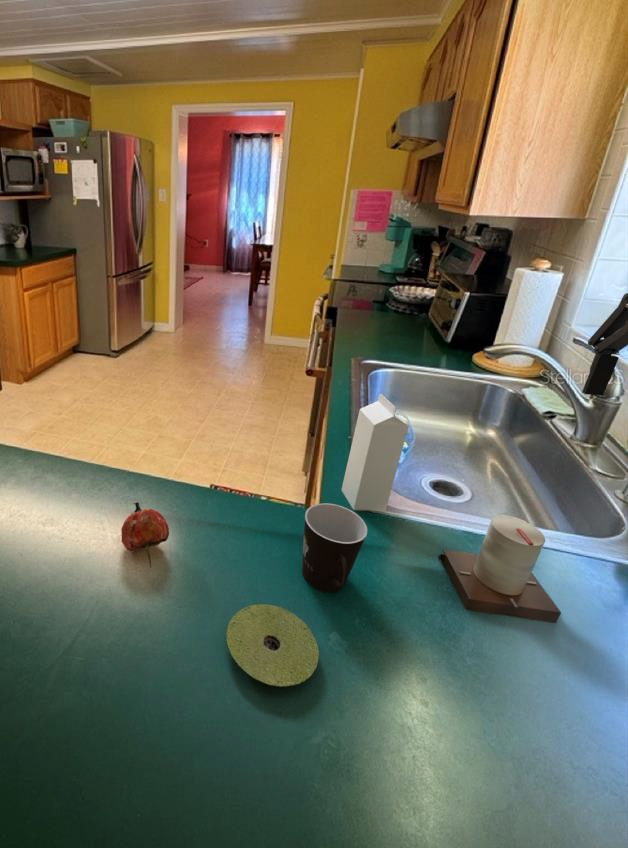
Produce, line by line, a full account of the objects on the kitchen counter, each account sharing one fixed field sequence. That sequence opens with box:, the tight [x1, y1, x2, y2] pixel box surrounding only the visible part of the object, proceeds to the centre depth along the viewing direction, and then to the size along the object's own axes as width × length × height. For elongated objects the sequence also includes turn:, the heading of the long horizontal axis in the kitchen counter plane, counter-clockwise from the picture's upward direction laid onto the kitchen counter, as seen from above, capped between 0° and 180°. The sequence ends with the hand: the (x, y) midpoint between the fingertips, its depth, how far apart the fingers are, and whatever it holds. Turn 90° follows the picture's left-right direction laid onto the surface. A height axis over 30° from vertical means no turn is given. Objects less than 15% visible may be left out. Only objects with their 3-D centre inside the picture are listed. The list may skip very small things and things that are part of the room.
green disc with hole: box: [226, 603, 320, 687], centre depth 58 cm, size 11×11×2 cm
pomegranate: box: [120, 501, 170, 568], centre depth 73 cm, size 7×7×10 cm
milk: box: [341, 393, 410, 512], centre depth 83 cm, size 6×6×22 cm
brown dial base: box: [439, 548, 562, 624], centre depth 70 cm, size 12×11×2 cm
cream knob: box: [473, 514, 546, 595], centre depth 68 cm, size 6×6×9 cm
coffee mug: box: [301, 502, 368, 593], centre depth 68 cm, size 12×9×10 cm
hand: (623, 412), depth 70 cm, fingers open, 13 cm apart
